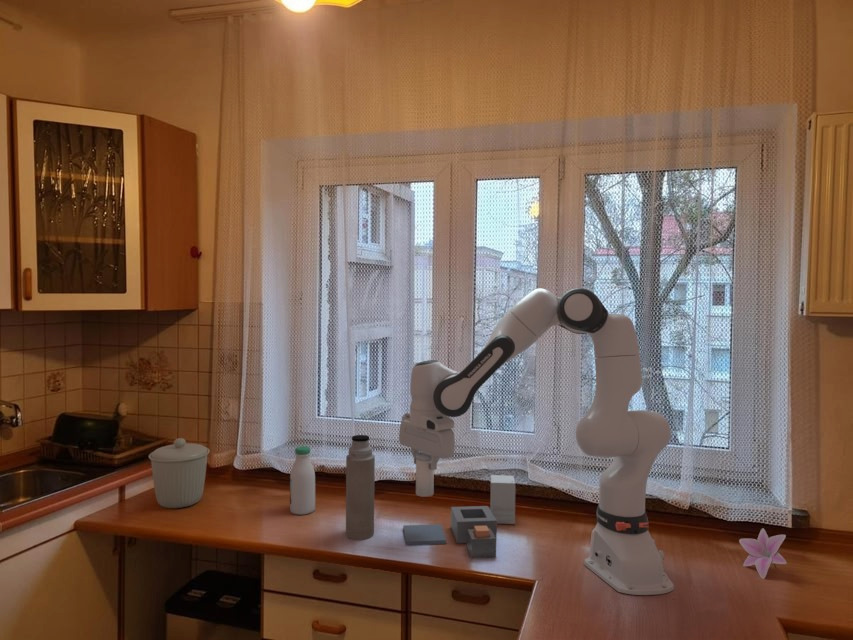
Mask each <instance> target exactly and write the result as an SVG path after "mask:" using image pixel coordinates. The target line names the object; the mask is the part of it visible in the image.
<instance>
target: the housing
mask: <svg viewBox="0 0 853 640" xmlns="http://www.w3.org/2000/svg"><path fill="white" fill-rule="evenodd" d="M474 526H487V527H488V529H491V530H492V532H493V533H494V535H495V537H496V538H497V535H498V534H497V526H498V525H497V520H496V518H495V517H494V515H493V513H492V512H491V510H490V506H488V505H480V506H479V505H478V506H477V505H475V506H474V505H472V506H451V507H450V529H451V531H452V534H453V536H454V538H455V542H456V544H467V529H474Z"/></svg>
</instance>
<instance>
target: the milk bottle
mask: <svg viewBox="0 0 853 640" xmlns="http://www.w3.org/2000/svg"><path fill="white" fill-rule="evenodd" d="M294 451H295V455H294V456H295V460H294V462H293V465H292V468H291V470H290V475H289V478H290V479H289V510H290V512H291V514H292V515H297V516H299V515H301V516H302V515H303V516H304V515H308V514H309V515H310V514H311V513H313V512H315V509H316V473H315V468H314V466H313V464H312V461H311V457H310V455H311V447H310V446H307V445H306V446H304V445H303V446H302V445H301V446H297V447H295V449H294Z"/></svg>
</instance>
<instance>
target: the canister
mask: <svg viewBox="0 0 853 640" xmlns="http://www.w3.org/2000/svg"><path fill="white" fill-rule="evenodd" d="M210 451H211V450H210V448H208V447H206V446H204V445H202V444H198V443H189V442H188V443H187V441H186V440H185V439H184V438H183V437H181V438H176V439H174V441H173V443H172V444H169V445H165V446H161V447H159V448H156V449H155V450H154V451H151V452H150V453H149V454H148V459H149V460H150V461H151V462H150V463H151V471H152V478H153V485H154V492H155V499H156V501H157V503H158V505H159V506H161V507H162V508H166V509H181V508H186V507H190V506H193V505H195V504H197V503H198V502H200V501H201V499H202V497H203V494H204V488H205V480H206V474H207V463H208V455H209V454H210Z"/></svg>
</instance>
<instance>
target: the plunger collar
mask: <svg viewBox="0 0 853 640" xmlns="http://www.w3.org/2000/svg"><path fill="white" fill-rule="evenodd" d="M466 545H467V546H466V548H467V550H468V553H469V556H470V558H471V559H488V558H489V559H490V558H491V559H493V558H497V536H496V537H495V535H494V533H493V532H492V530H491V529H489V537H475V535H474V529H467V543H466Z"/></svg>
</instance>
